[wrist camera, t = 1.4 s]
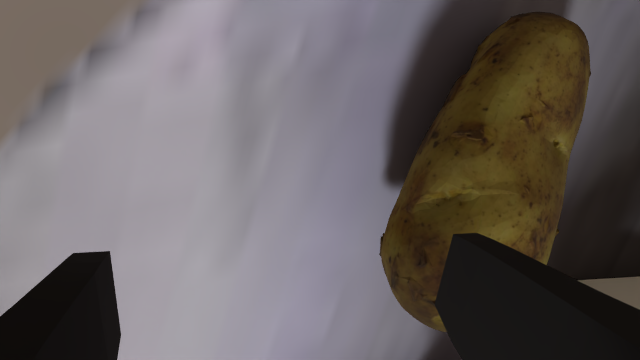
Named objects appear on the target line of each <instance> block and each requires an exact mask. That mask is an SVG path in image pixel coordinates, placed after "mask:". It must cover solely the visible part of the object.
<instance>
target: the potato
mask: <svg viewBox="0 0 640 360" xmlns="http://www.w3.org/2000/svg"><path fill="white" fill-rule="evenodd" d="M590 75H591V71H590V56H589V46H588V41H587V39H586V36H585V34H584V32H583V31H582V30H581V28H580V27H579V26H578V25H577V24H575V23H574V22H572V21H569V20H567V19H565V18H563V17H561V16H558V15H556V14H553V13H547V12H531V13H527V14H519V15H516V16H513V17H511V18H510V19H509V20H508V21H507V22H505V23H504V24H502V25H501V26H500V27H498V28H497V29H496V30H495V31H494V32H493V33H491V34H490V35H489V36H487V37H486V38H485V40H484V41H483V42H482V44H481V45H479V46H478V49H477V52H476V54H475V56H474V58H473V60H472V62H471V68H470V70H469V71H468V72H467V73H466V74H463V75H462V76H461V77H460V78H459V79H458V80H457V81H456V82H455V84H454V86H453V87H452V89H451V91H450V93H449V95H448V97H447V99H446V101H445V103H444V106H443V107H442V109H441V111H440V112H439V114H438V115H437V117H436V119H435V120H434V122H433V124H432V125H431V127H430V129H429V130H428V132H427V134H426V135H425V137H424V139H423V141H422V143H421V145H420V147H419V149H418V151H417V153H416V156H415V158H414V160H413V163H412V165H411V167H410V170H409V172H408V175H407V177H406V180H405V182H404V184H403V187H402V189H401V192H400V195H399V197H398V199H397V202H396V204H395V206H394V208H393V211H392V213H391V215H390V218H389V221H388V224H387V227H386V231H385V233H383V237H381V243H380V244H381V247H380V256H381V258H382V264H383V268H384V271H385V274H386V276H387V279H388V282H389V285H390V287H391V290H392V292H393V294H394V296H395V297H396V299H397V301H398V302H399V303H400V305H401V306H402V307H403V308H404V309H405V310H406V311H407V312H408V313H409V314H410V315H412V316H413V317H414V318H416V319H417V320H418V321H420V322H421V323H423V324H425V325H427V326H428V327H430V328H433V329H435V330H439V331H442V332H447V331H446V329H445V327H444V325H443V322H442V320H441V318H440V316H439V313H438V311H437V309H436V307H435V300H436V297H437V293H438V289H439V285H440V282H441V278H442V274H443V270H444V267H445V263H446V259H447V255H448V252H449V248H450V244H451V240H452V237H453V234H463V233H478V234H481V235H484V236H486V237H489V238H491V239H493V240H496V241H498V242H500V243H502V244H504V245H506V246H509V247H511V248H513V249H515V250H517V251H519V252H521V253H523V254H525V255H527V256H529V257H531V258H533V259H535V260H537V261H539V262H541V263H543V264H545V265H547V263H548V259H549V256H550V252H551V249H552V245H553V242H554V238H555V236H556V235H557V234H558V233H559V230H558V229H557V227H558V222H559V218H560V214H561V210H562V205H563V198H564V191H565V184H566V175H567V168H568V162H569V158H570V153H571V150H572V147H573V144H574V141H575V138H576V136H577V133H578V130H579V127H580V124H581V121H582V117H583V112H584V108H585V102H586V97H587V90H588V84H589V77H590Z"/></svg>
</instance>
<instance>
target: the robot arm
mask: <svg viewBox="0 0 640 360" xmlns="http://www.w3.org/2000/svg"><path fill="white" fill-rule="evenodd" d="M435 307H436V309H437V311H438V313H439V316H440V318H441V320H442V322H443V325H444V327H445V329H446V331H447V333H448V335H449V337H450V339H451V341H452V343H453V345H454V346H455V348H456V350H457V351H458V353H459V355H460V356H461V358H462V359H463V360H640V310H639V309H637V308H635V307H633V306H631V305H629V304H626V303H624V302H622V301H620V300H618V299H615V298H613V297H611V296H609V295H607V294H604V293H602V292H600V291H598V290H596V289H594V288H592V287H590V286H588V285H586V284H583V283H581V282H579V281H577V280H575V279H573V278H571V277H569V276H567V275H565V274H563V273H561V272H559V271H557V270H555V269H553V268H551V267H549V266H547V265H545V264H543V263H541V262H539V261H537V260H535V259H533V258H531V257H529V256H527V255H525V254H523V253H521V252H519V251H517V250H515V249H513V248H511V247H509V246H506V245H504V244H502V243H500V242H498V241H496V240H493V239H491V238H489V237H486V236H484V235H481V234H478V233H463V234H453V237H452V240H451V244H450V248H449V252H448V255H447V259H446V263H445V267H444V270H443V274H442V278H441V282H440V285H439V289H438V293H437V297H436V300H435ZM120 338H121V331H120V324H119V316H118V309H117V301H116V294H115V286H114V279H113V271H112V264H111V256H110V251H106V252H87V253H73V254H72V255H71V256H69V257H68V258H67V259H66V260H65V261H63V262H62V263H61V264H60V265H59V266H58V267H57V268H55V269H54V270H53V271H52V272H51V273H50V274H49V275H48V276H46V277H45V278H44V279H43V280H42V281H41V282H40V283H38V284H37V285H36V286H35V287H34V288H33V289H32V290H31V291H29V292H28V293H27V294H26V295H25V296H24V297H23V298H21V299H20V300H19V301H18V302H17V303H16V304H14V305H13V306H12V307H11V308H10V309H9V310H7V311H6V312H5V313H4V314H3V315H2V316H0V360H117V357H118V350H119V344H120Z"/></svg>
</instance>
